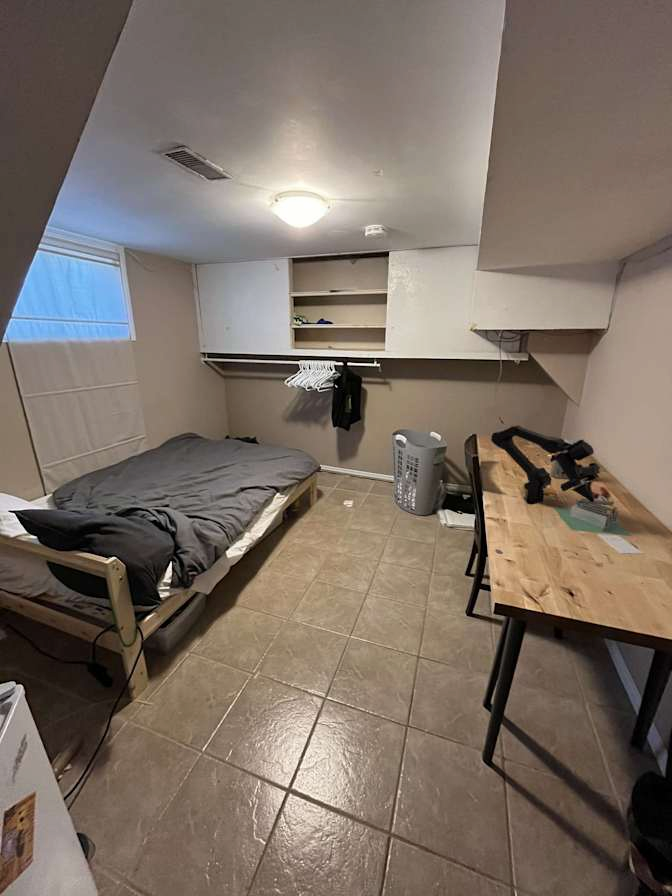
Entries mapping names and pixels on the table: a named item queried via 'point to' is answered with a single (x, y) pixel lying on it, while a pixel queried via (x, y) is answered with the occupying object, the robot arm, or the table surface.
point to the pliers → (603, 496)
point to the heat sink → (594, 515)
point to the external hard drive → (621, 544)
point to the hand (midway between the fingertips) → (592, 500)
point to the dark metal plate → (597, 502)
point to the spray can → (555, 468)
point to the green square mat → (578, 526)
